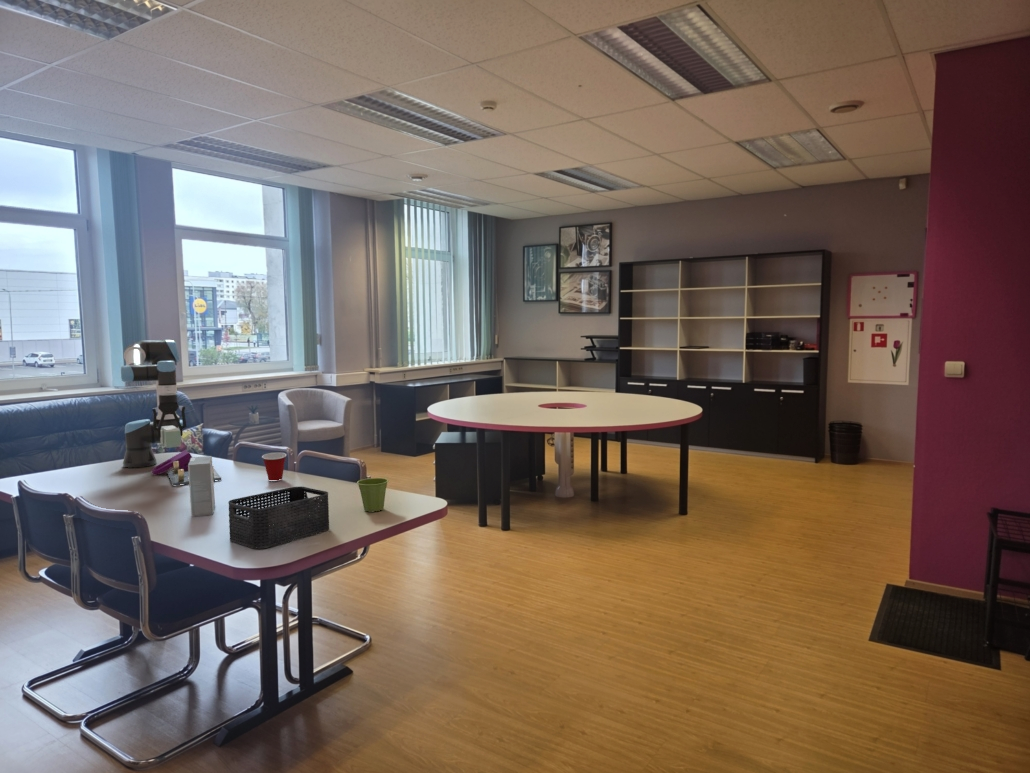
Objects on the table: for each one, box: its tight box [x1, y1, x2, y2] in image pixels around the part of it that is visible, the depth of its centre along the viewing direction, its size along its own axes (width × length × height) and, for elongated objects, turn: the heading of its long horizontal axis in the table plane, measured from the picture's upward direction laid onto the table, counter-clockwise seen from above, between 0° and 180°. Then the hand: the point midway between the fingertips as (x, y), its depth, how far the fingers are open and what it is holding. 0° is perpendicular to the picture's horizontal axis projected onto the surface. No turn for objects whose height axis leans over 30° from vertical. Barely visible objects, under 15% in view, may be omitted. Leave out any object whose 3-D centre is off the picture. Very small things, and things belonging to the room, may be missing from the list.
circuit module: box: [159, 425, 182, 449], centre depth 309 cm, size 16×6×8 cm, turn 37°
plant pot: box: [356, 477, 389, 513], centre depth 254 cm, size 12×12×11 cm
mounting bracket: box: [151, 449, 193, 475], centre depth 329 cm, size 9×8×18 cm
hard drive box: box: [188, 455, 216, 518], centre depth 255 cm, size 16×8×20 cm, turn 22°
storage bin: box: [227, 486, 330, 550], centre depth 224 cm, size 29×19×13 cm
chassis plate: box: [166, 461, 222, 486], centre depth 315 cm, size 30×20×6 cm, turn 32°
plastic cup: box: [261, 452, 288, 481], centre depth 307 cm, size 11×11×12 cm
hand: (170, 443), depth 309 cm, fingers closed on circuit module, 6 cm apart
